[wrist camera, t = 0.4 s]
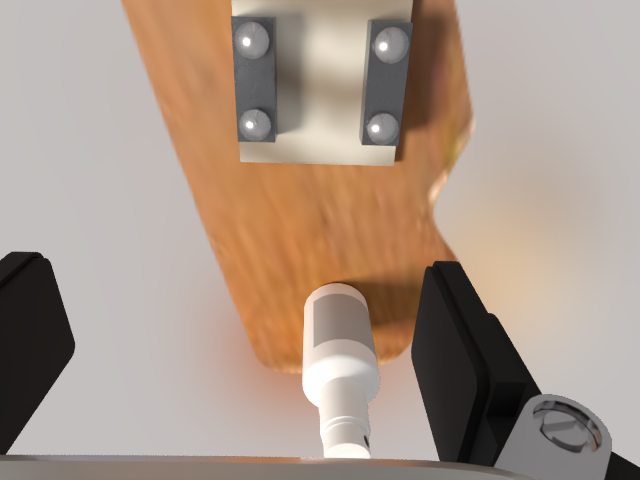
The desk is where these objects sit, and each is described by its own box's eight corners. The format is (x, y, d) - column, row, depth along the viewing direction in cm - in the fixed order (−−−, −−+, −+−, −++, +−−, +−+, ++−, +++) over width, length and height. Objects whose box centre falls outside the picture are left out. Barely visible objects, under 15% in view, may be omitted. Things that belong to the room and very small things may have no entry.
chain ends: (236, 15, 33) (229, 16, 30) (406, 21, 33) (415, 23, 30) (242, 133, 37) (236, 144, 34) (393, 138, 38) (400, 149, 35)
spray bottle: (376, 318, 48) (408, 471, 32) (321, 340, 50) (326, 497, 34) (350, 271, 45) (371, 414, 29) (293, 296, 47) (283, 446, 31)
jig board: (232, -23, 33) (230, -24, 32) (412, -16, 33) (414, -16, 32) (242, 158, 39) (240, 161, 38) (391, 162, 40) (393, 165, 39)
